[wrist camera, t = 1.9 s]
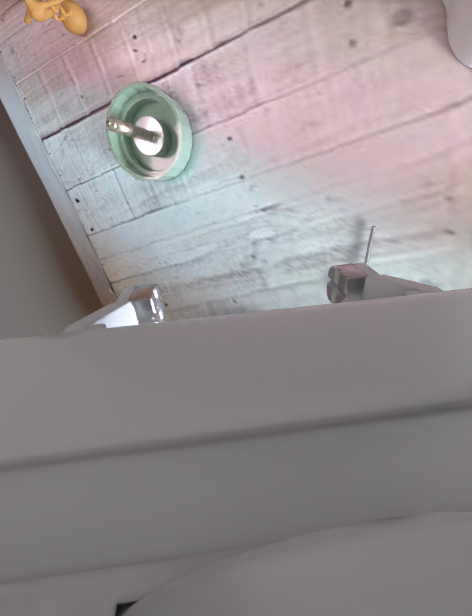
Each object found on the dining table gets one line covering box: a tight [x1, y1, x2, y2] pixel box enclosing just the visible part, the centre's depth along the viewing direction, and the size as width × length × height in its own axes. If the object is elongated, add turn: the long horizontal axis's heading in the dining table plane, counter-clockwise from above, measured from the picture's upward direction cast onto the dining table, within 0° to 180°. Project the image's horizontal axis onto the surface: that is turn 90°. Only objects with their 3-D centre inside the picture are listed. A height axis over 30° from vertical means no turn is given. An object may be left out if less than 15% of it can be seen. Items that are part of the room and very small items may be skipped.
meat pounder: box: [106, 116, 171, 157], centre depth 44 cm, size 6×6×14 cm
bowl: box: [106, 82, 193, 181], centre depth 48 cm, size 14×14×5 cm
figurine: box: [24, 0, 87, 35], centre depth 41 cm, size 8×6×12 cm
